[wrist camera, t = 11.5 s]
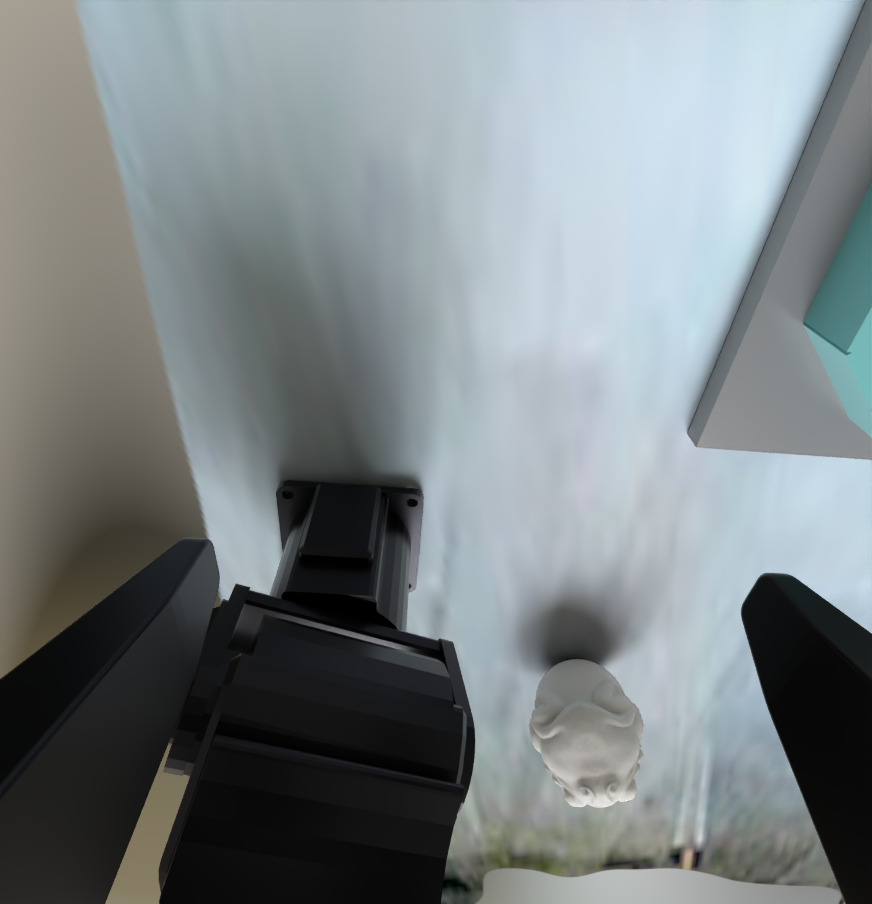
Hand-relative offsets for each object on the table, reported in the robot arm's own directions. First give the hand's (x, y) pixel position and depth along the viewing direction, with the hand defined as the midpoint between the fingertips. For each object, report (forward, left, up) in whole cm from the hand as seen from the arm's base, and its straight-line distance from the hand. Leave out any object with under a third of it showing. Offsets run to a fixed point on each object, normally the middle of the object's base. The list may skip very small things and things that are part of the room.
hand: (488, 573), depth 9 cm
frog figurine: (-22, -9, -13) cm, 27 cm away
